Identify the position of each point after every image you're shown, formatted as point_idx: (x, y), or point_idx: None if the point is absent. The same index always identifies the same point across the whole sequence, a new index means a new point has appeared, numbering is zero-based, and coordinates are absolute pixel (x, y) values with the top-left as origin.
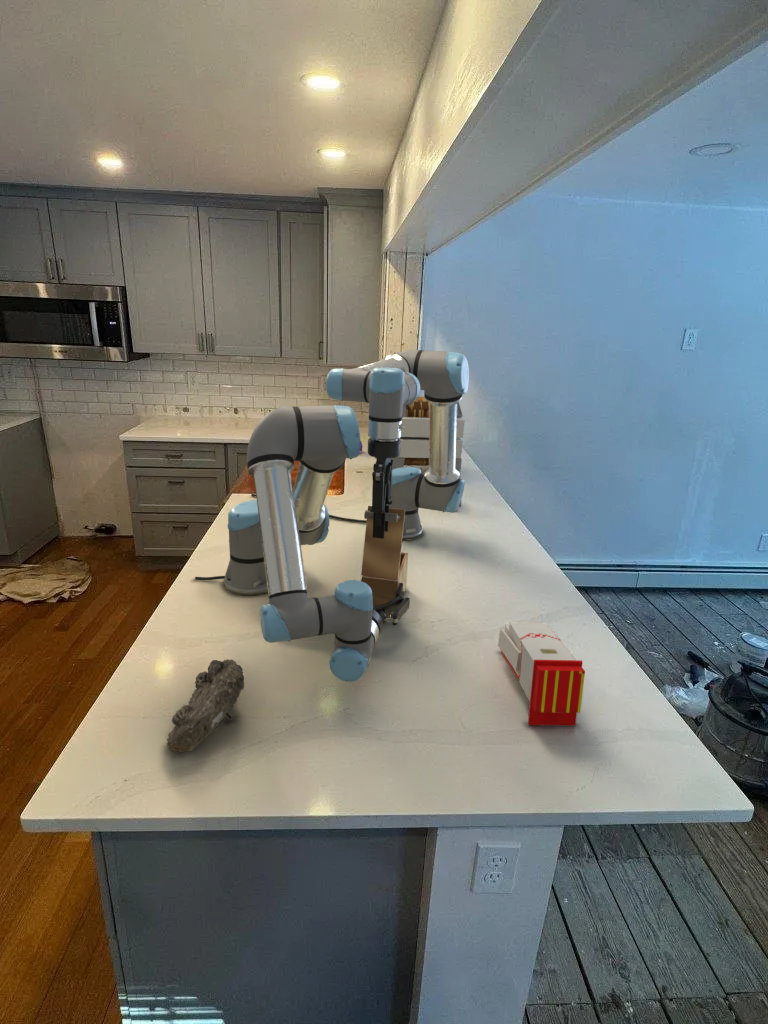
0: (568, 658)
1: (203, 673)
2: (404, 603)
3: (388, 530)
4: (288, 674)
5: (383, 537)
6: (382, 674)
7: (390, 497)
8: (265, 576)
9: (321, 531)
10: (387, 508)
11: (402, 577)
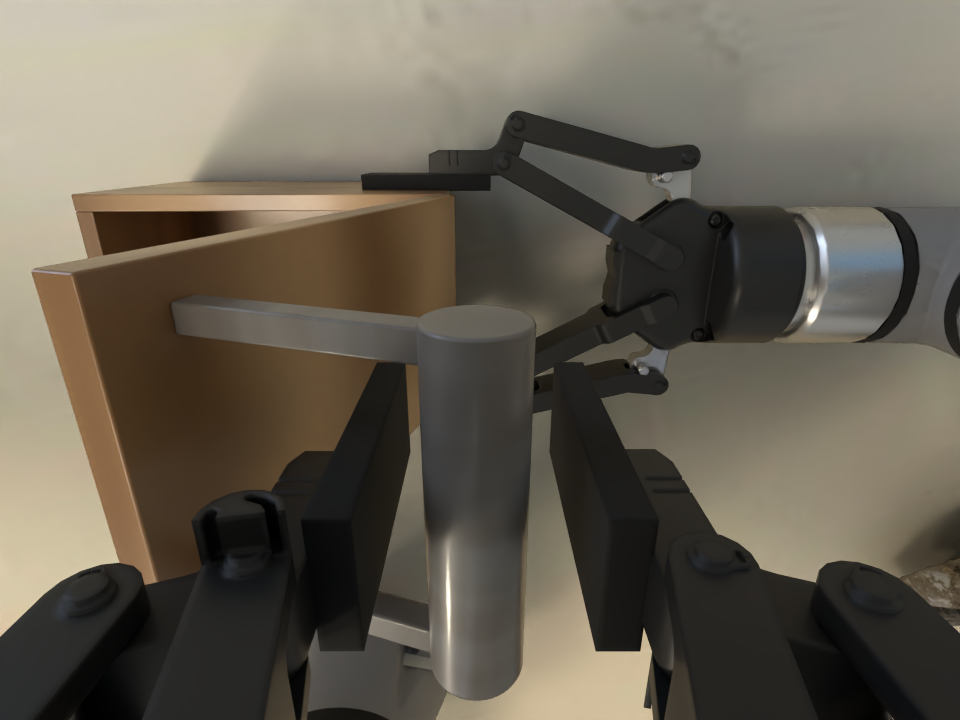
0: None
1: (945, 619)
2: (569, 131)
3: (303, 358)
4: (828, 432)
5: (584, 369)
6: (822, 162)
7: (111, 595)
8: (397, 661)
9: None
10: (360, 510)
11: (289, 189)
